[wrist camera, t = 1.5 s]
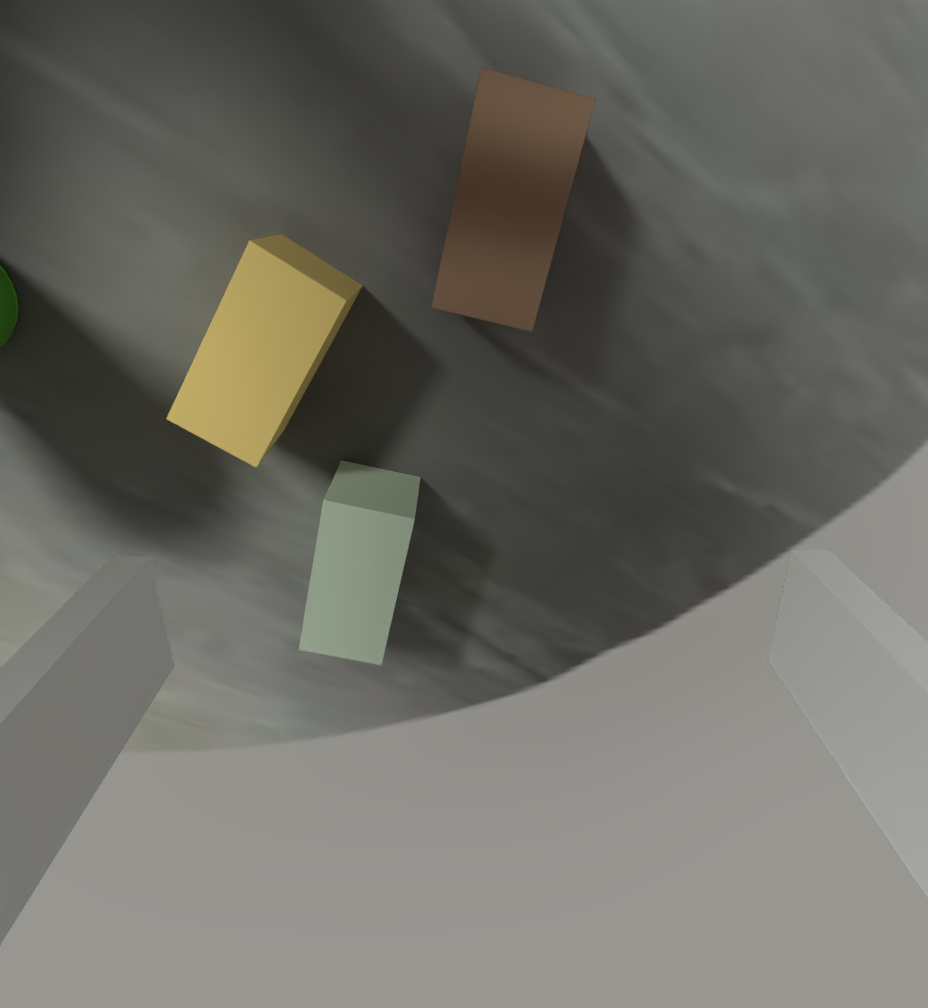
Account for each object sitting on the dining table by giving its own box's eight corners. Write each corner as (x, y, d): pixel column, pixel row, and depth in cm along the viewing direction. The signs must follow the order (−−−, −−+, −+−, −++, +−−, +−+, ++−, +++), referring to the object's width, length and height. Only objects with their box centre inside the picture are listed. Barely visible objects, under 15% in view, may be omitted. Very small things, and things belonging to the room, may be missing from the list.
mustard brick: (284, 430, 33) (256, 467, 28) (207, 387, 32) (166, 419, 27) (363, 285, 30) (346, 300, 26) (282, 233, 29) (249, 240, 25)
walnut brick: (521, 312, 31) (532, 331, 26) (435, 291, 30) (431, 307, 26) (572, 115, 28) (595, 98, 23) (477, 89, 27) (481, 67, 23)
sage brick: (391, 608, 37) (381, 664, 33) (318, 593, 37) (298, 649, 32) (420, 476, 34) (414, 518, 29) (341, 459, 34) (323, 500, 29)
